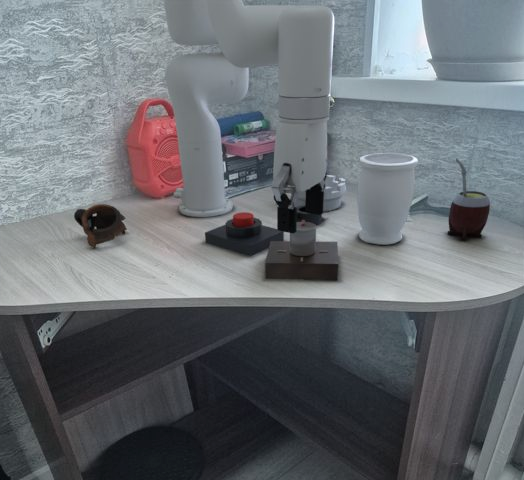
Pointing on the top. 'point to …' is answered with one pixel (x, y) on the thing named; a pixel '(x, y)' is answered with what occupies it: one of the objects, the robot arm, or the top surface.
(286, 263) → the dial panel
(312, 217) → the black wing nut
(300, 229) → the dial
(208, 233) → the button block
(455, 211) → the mate gourd
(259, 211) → the top surface
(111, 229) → the rusty brown ring housing
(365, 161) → the jar
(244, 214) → the button
